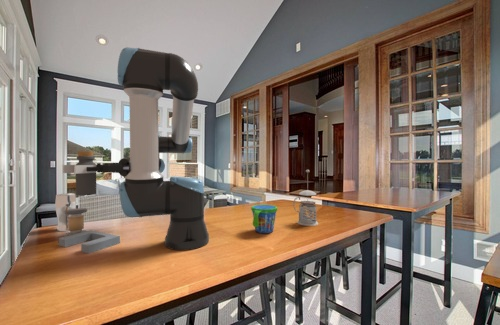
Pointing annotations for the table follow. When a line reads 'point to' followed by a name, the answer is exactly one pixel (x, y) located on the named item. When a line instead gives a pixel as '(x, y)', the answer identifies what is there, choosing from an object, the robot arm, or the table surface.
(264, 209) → the snack cup
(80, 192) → the bottle
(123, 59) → the robot arm
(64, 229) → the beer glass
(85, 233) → the notch board
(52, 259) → the table surface
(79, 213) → the bobbin
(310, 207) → the french press
